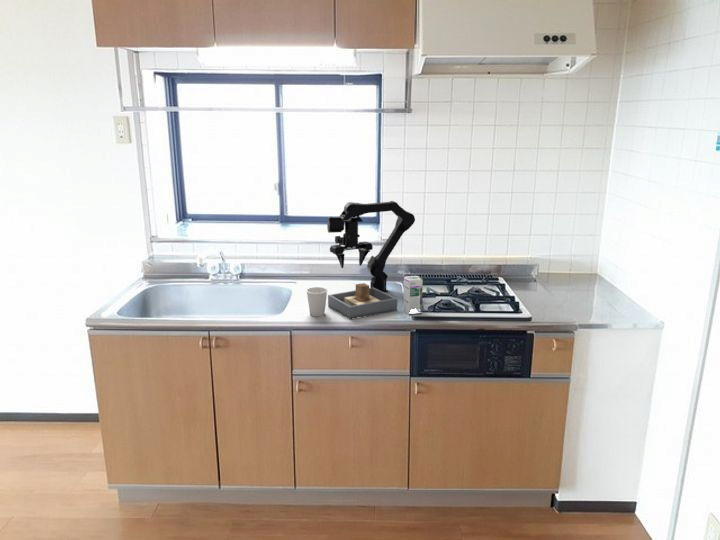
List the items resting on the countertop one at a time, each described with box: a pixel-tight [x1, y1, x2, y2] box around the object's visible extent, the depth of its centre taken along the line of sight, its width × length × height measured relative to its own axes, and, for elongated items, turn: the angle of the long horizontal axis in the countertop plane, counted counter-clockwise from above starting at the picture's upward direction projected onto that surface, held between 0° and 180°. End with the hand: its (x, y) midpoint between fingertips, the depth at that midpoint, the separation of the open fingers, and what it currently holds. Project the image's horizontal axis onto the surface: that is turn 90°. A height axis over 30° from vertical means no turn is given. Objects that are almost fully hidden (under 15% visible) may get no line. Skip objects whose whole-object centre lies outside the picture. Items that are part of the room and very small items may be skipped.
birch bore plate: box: [344, 295, 381, 306], centre depth 218 cm, size 11×11×3 cm
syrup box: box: [403, 275, 424, 315], centre depth 213 cm, size 6×6×14 cm
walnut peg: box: [355, 282, 370, 302], centre depth 218 cm, size 4×4×9 cm
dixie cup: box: [305, 286, 328, 317], centre depth 211 cm, size 8×8×10 cm
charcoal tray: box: [327, 287, 398, 320], centre depth 218 cm, size 22×18×5 cm
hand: (351, 266), depth 237 cm, fingers open, 9 cm apart
